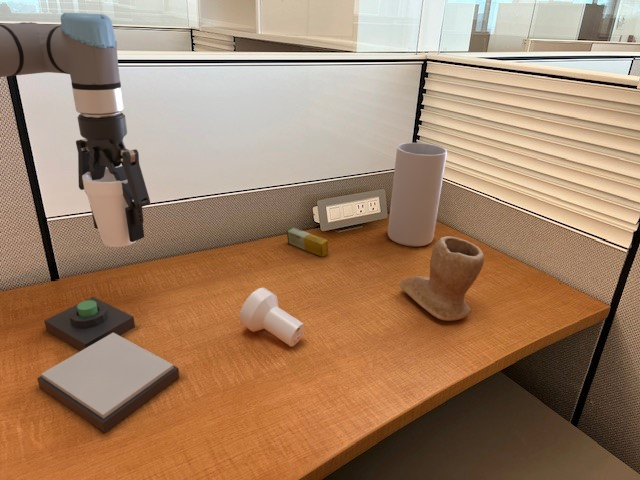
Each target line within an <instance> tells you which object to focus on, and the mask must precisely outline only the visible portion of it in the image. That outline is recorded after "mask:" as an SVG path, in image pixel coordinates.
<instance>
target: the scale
mask: <svg viewBox="0 0 640 480" xmlns="http://www.w3.org/2000/svg"><path fill="white" fill-rule="evenodd" d="M179 378H180V371H179V367H178V366H176V365H174V364H173V363H171V362H170V361H168V360H166V359H164V358H163V357H160V356H158V355H157V354H155V353H153V352H151V351H149V350H147V349H145V348H144V347H142V346H139V345H138V344H136V343H134V342H132V341H130V340H128V339H126V338H125V337H123V336H122V335H121V336H119V335H117V334H115V333H111V334H110V335H108V336H106V337H104V338H103V339H101V340H99V341H97V342H96V343H94V344H92V345H90V346H89V347H87V348H85V349H83V350H82V351H80V350H79V351H78V352H76V353H75V354H72V355H71V356H69V357H68V358H65V359H64V360H62V361H61V362H59V363H57V364H55V365H54V366H52V367H50V368H49V369H47V370H45V371H43V372H41V373H40V376H39V377H37V378H36V380H37V383H38V387H39V389H41V390H42V391H43V392H44V393H46V394H47V395H49V396H50V397H52V398H53V399H55V400H56V401H58V402H59V403H61V404H62V405H63V406H65V407H66V408H68V409H69V410H71V411H72V412H74V413H75V414H77V415H78V416H79V417H80V418H82V419H84V420H85V421H87V422H88V423H90V424H91V425H93V426H94V427H95V428H97V429H98V430H100V431H101V432H103V433H104V434H106V433H107V432H109V431H110V430H111V429H112V428H114V427H115V426H117V425H118V424H119V423H120V422H122V421H123V420H124V419H126V418H127V417H128V416H130V415H131V414H133V413H134V412H135V411H136V410H138V409H140V407H142V406H144V405H145V404H146V403H147V402H148V401H150V400H151V399H153V398H154V397H155V396H157V395H158V394H159V393H160V392H162V391H163V390H164V389H166V388H167V387H168V386H170V385H171V384H172V383H174V382H176V381H177V380H178V379H179Z"/></svg>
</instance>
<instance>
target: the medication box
mask: <svg viewBox="0 0 640 480" xmlns="http://www.w3.org/2000/svg"><path fill="white" fill-rule="evenodd" d="M286 235H287V237H286V238H287V244H289V245H292V246H294V247H297V248H299V249H302V250H304V251H307V252H309V253H312V254H314V255H315V256H316V255H317V256H319V257H321V258H323V257H325V256H326V255H327V254H329V247H328V244H329V243H328V242H329V241H328V239H325V238H324V237H321V236H318V235H315V234H313V233H309V232H308V231H305V230H302V229H300V228H296V227H295V226H293V227H291V228H289V229H287V230H286Z"/></svg>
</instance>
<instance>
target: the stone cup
mask: <svg viewBox="0 0 640 480" xmlns="http://www.w3.org/2000/svg"><path fill="white" fill-rule="evenodd" d="M484 263H485V255H484V252H483V251H482V249H481V248H480V247H479V246H477V245H476V244H474V243H472V242H470V241H468V240H465V239H463V238H459V237H456V236H450V235H446V236H442V237H440V238H439V239H438V240H437V241H436V242H435V243H434V245H433V247H432V251H431V255H430V260H429V277H427V276H423V275H413V276H408V277H406V278H403V279H402V280H400V281H399V283H398V286H399V288H401V289H402V290H403V291H404V292H405V293H406V294H407V296H409V297H410V298H411V299H412V300H413V301H414V302H415V303H416V304H417V305H419V306H420V307H421V308H423V309H424V310H425V311H426V312H428V313H429V314H430V315H432V316H433V317H434V318H435V319H438V320H441V321H446V322H451V321H459V320H462V319H465V318H467V317H468V316H469V315H470V314H471V313H472V309H471V307H470V306H469V304H468V303H467V302H466V300H465V296H466V294H467V292H468V291H469V289H470V288H471V287H472V286H473V284H474V283H475V281H476V280H477V278H478V277H479V275H480V273H481V271H482V269H483V266H484Z"/></svg>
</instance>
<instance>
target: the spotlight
mask: <svg viewBox="0 0 640 480" xmlns="http://www.w3.org/2000/svg"><path fill="white" fill-rule="evenodd" d="M279 306H280V305H279V298H278V295H277V294H275V293H273V292H272V291H270V290H269V289H267V288H266V287H260V288H257V289H255V290H254V291H253V292H252V293H251V294H250V295H249V296H248V297H247V298H246V300H245V301H244V302H243V304H242V306H241V308H240V311H239V316H238V321H239V324H240V325H242V326H244V327H245V328H246V329H248V330H249V331H251V332H253V333H255V332H258V331H262V330H265V331H266V332H269V334H271V335H273V336H274V337H275V338H277V339H279V340H280V341H281V342H283V343H285V344H286V345H287V346H289V347H291V348H292V347H295V345H297V343H298V342H299V341H300V340H301V338H302V337H303V335H304V333H305V330H306V324H305V323H304V322H302V321H301V320H299V319H297V318H296V317H294V316H292V315H291V314H289V313H288V312H287V311H285V310H283V309H282V308H280V307H279Z"/></svg>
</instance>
